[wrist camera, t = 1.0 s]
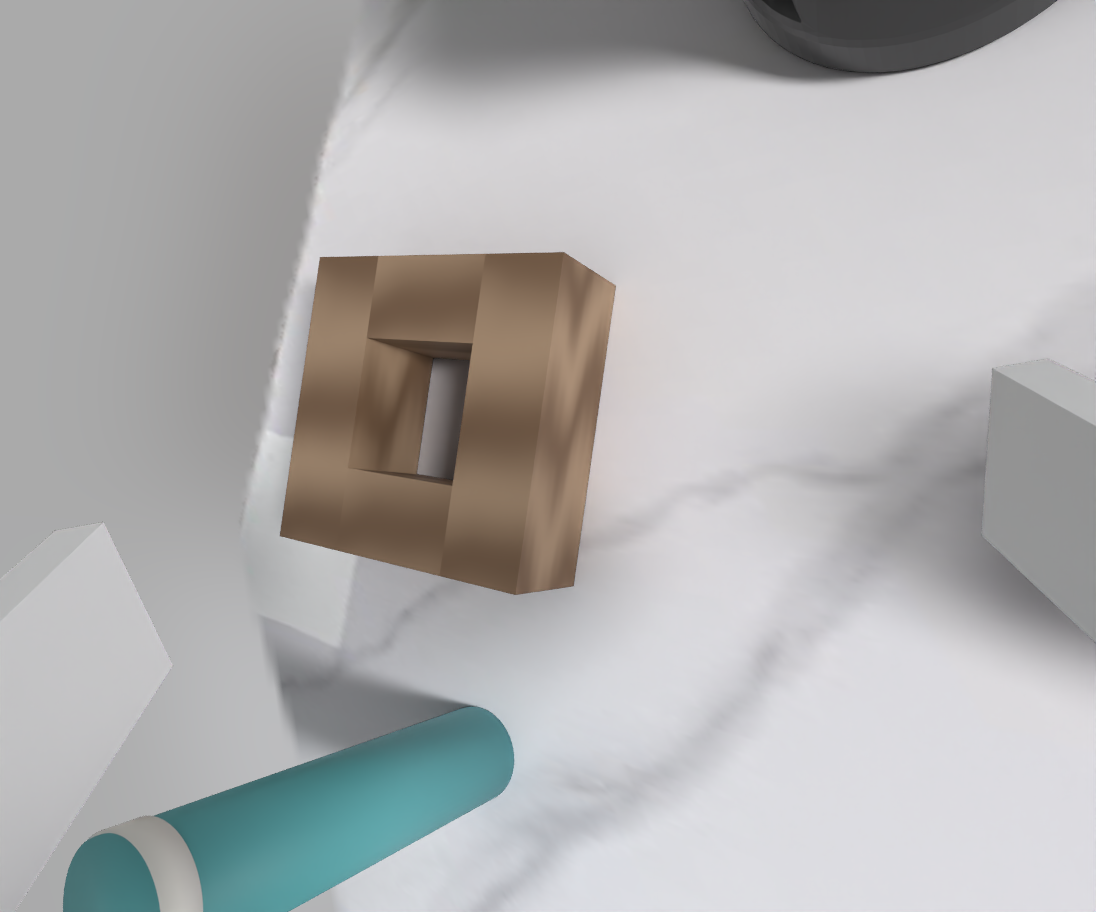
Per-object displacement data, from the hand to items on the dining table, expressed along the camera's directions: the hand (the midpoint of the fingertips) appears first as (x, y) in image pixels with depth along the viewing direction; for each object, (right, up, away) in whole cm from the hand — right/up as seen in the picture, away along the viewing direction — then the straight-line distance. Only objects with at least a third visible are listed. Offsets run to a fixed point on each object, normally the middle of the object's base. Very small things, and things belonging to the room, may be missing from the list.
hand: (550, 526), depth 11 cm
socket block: (-4, +3, +27) cm, 28 cm away
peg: (-4, -13, +26) cm, 29 cm away
